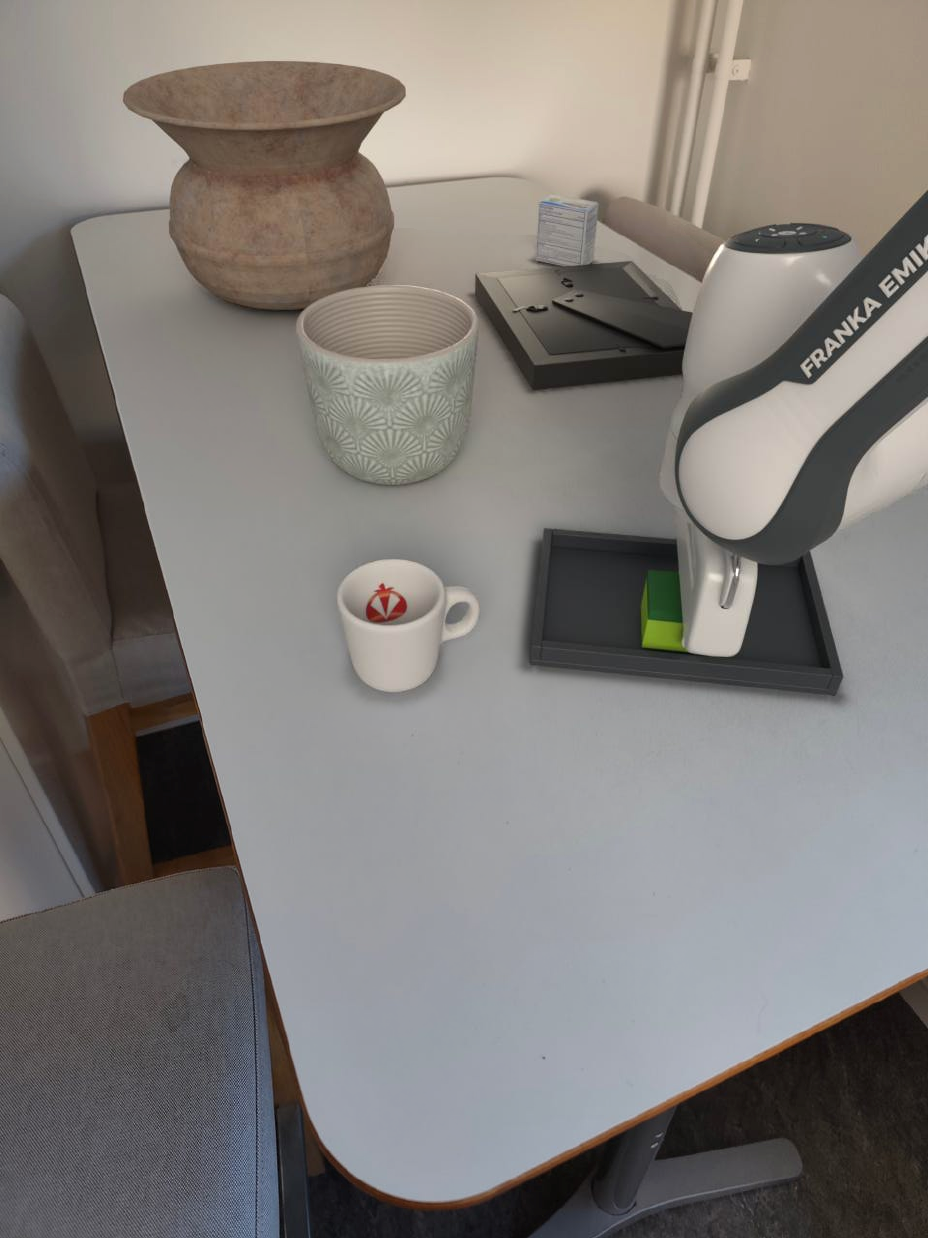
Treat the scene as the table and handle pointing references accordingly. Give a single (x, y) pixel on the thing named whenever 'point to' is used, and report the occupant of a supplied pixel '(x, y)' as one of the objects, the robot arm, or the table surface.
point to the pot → (274, 176)
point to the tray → (611, 642)
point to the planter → (390, 379)
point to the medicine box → (566, 231)
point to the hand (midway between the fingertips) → (689, 615)
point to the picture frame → (585, 323)
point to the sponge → (662, 611)
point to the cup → (399, 621)
